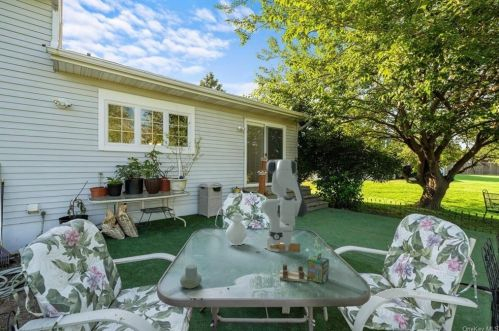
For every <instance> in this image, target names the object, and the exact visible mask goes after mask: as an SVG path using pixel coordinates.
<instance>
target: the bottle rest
mask: <svg viewBox="0 0 499 331" xmlns="http://www.w3.org/2000/svg"><path fill="white" fill-rule="evenodd" d="M281 280H287V281H286V282H293V281H302V282H301V283H305V282H307V283H308V276H307V272H306V271H304V266H303V265H298V267H297V270H288V264H284V263H283V265H282V269H279V281H281Z"/></svg>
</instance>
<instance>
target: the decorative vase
mask: <svg viewBox="0 0 499 331" xmlns="http://www.w3.org/2000/svg"><path fill="white" fill-rule="evenodd" d="M242 215H243V214H242V212H233V213H232V216H231V221H232V223H231V224H229V226H228V227H227V229H226V231H225V236H226V237H227V239H228V240H229V243H230V244H231V245H241V244H242V242H243V243H244V240H246V238H247V236H248V233H249V232H248V228H247V227H246V226H245V224H243V222H242V221H243V220H244V217H243V216H242ZM231 245H230V246H231Z"/></svg>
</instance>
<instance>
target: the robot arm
mask: <svg viewBox="0 0 499 331" xmlns="http://www.w3.org/2000/svg"><path fill="white" fill-rule="evenodd" d="M297 168H298V167H297V162H296V161H295V160H290V159H284V158H283V159H269V160H267V163H266V170H267V173H269V174H272V179H271V189H270V190H271V192H272V194H274V195H276V197H277V198H268V199H264V200H263V201H262V202H261V204H260V205H261V206H260V207H261V210H262V212H263V213H264V214H265V215H266V216H267V217H268V220H269V230H268V237H266V245H265V246H264V248H263V249H265V248H266V249H265V250H268V251H270V252H275V253H282V251H279V249H270V244H279V242H283V243H284V245H285V250H286V251H288V250H289V245H290V244H291V243H292V236H293V231H294V229H295V228H296V218H295V217H297V218H304V217H305V216H306V215H307V214H308V211H309V210H308V205H307V202H306V199H305V196H304V194H303V192H302V187H301V185H300V183H299V180H298V179H296V178H295V177H294V174H296V172H297V170H298V169H297ZM287 189H289V190H291V191H292V192H294V195H295V198H294V196H291V195H288V194H287ZM295 199H296V200H295ZM278 215H279V216H280V217H279V216H278Z"/></svg>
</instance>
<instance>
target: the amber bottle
mask: <svg viewBox="0 0 499 331" xmlns="http://www.w3.org/2000/svg"><path fill="white" fill-rule="evenodd" d="M270 249H279V251H282V252H284V253H295V254H297V253H301V243H297V242H296V243H295V242H291V244H290V245H289V250H288V251H286V250H285V245H284V243H283V242H279V244H270ZM282 252H281V253H282Z"/></svg>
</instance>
